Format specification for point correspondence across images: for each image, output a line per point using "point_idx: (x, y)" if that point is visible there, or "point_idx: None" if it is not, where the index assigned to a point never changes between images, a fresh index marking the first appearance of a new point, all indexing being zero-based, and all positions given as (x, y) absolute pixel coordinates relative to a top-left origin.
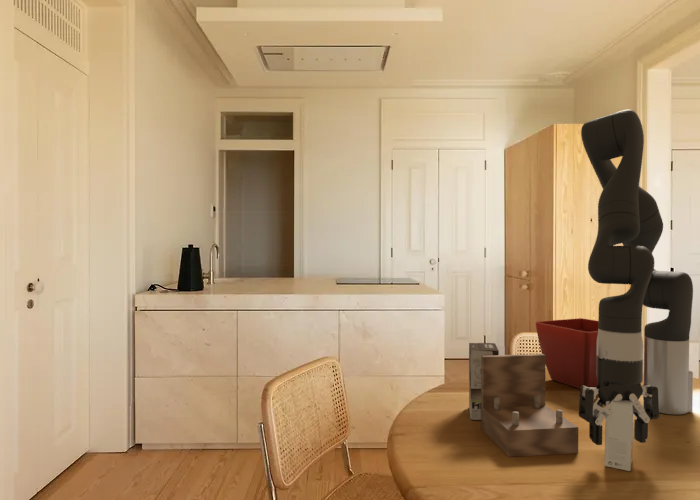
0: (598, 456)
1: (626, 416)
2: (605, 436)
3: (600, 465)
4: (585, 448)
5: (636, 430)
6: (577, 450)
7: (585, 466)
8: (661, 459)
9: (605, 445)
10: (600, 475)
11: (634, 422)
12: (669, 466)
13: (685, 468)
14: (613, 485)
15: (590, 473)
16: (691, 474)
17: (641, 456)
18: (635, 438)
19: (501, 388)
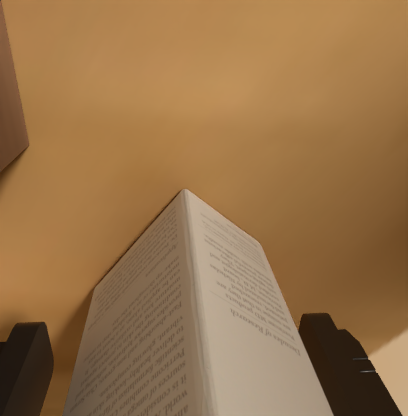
0: (124, 194)
1: None
2: (63, 412)
3: (82, 274)
4: (105, 88)
5: (321, 370)
6: (20, 148)
7: (6, 276)
8: (386, 250)
9: (76, 364)
10: None
11: (348, 399)
12: (355, 301)
13: (395, 316)
14: (50, 391)
15: (3, 325)
16: (369, 349)
17: (331, 216)
18: (304, 320)
19: None
